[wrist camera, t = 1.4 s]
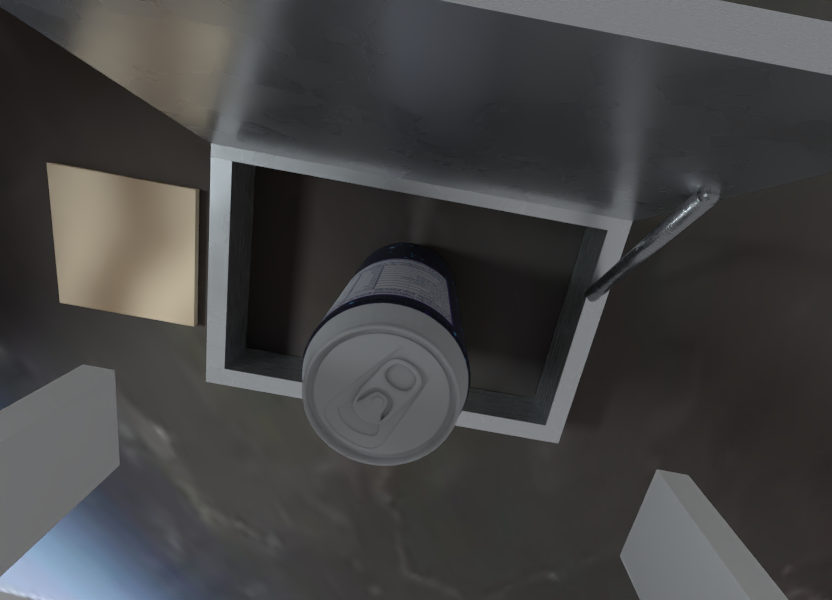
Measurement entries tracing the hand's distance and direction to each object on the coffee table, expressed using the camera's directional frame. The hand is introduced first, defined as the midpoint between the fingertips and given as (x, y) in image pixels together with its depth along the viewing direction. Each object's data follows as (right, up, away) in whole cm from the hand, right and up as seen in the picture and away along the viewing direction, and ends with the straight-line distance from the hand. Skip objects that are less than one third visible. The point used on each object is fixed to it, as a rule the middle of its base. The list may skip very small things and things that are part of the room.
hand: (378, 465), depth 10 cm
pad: (-15, +7, +14) cm, 22 cm away
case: (+1, +6, +13) cm, 15 cm away
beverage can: (0, +5, +14) cm, 15 cm away
